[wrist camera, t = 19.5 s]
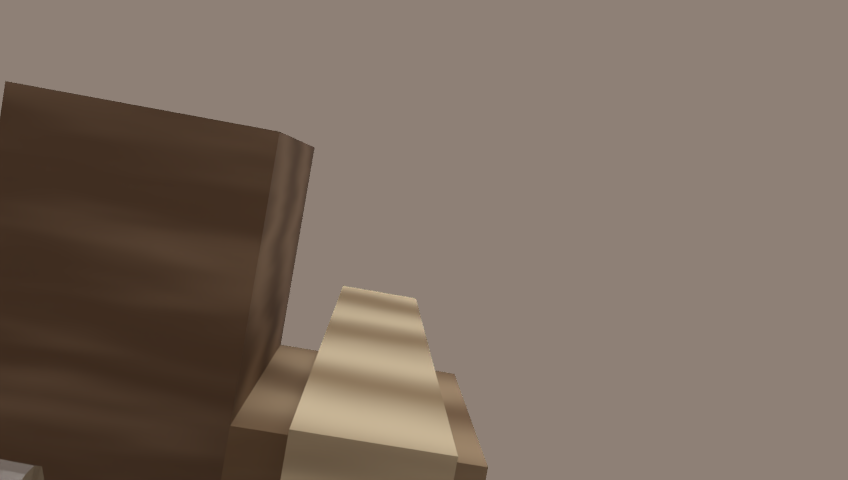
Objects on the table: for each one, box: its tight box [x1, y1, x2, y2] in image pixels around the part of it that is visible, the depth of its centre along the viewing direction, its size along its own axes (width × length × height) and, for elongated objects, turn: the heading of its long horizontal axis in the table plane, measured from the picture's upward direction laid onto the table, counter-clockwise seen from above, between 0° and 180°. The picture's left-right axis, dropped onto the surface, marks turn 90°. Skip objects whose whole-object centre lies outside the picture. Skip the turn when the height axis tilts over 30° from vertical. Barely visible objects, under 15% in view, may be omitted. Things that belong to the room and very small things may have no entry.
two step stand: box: [0, 82, 488, 480], centre depth 31 cm, size 12×16×25 cm
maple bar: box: [280, 286, 458, 480], centre depth 27 cm, size 22×3×3 cm, turn 3°
